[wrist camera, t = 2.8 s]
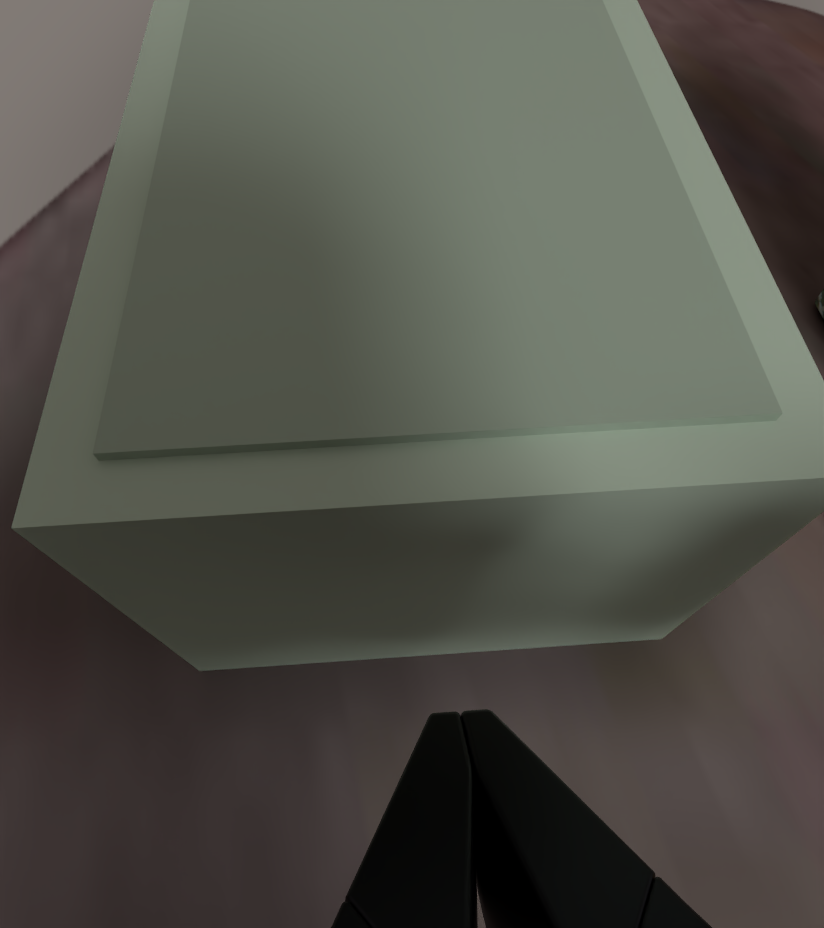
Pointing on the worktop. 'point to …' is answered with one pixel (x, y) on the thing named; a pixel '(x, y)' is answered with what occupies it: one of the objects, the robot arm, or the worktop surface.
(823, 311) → the syrup box
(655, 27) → the worktop surface
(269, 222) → the tub
